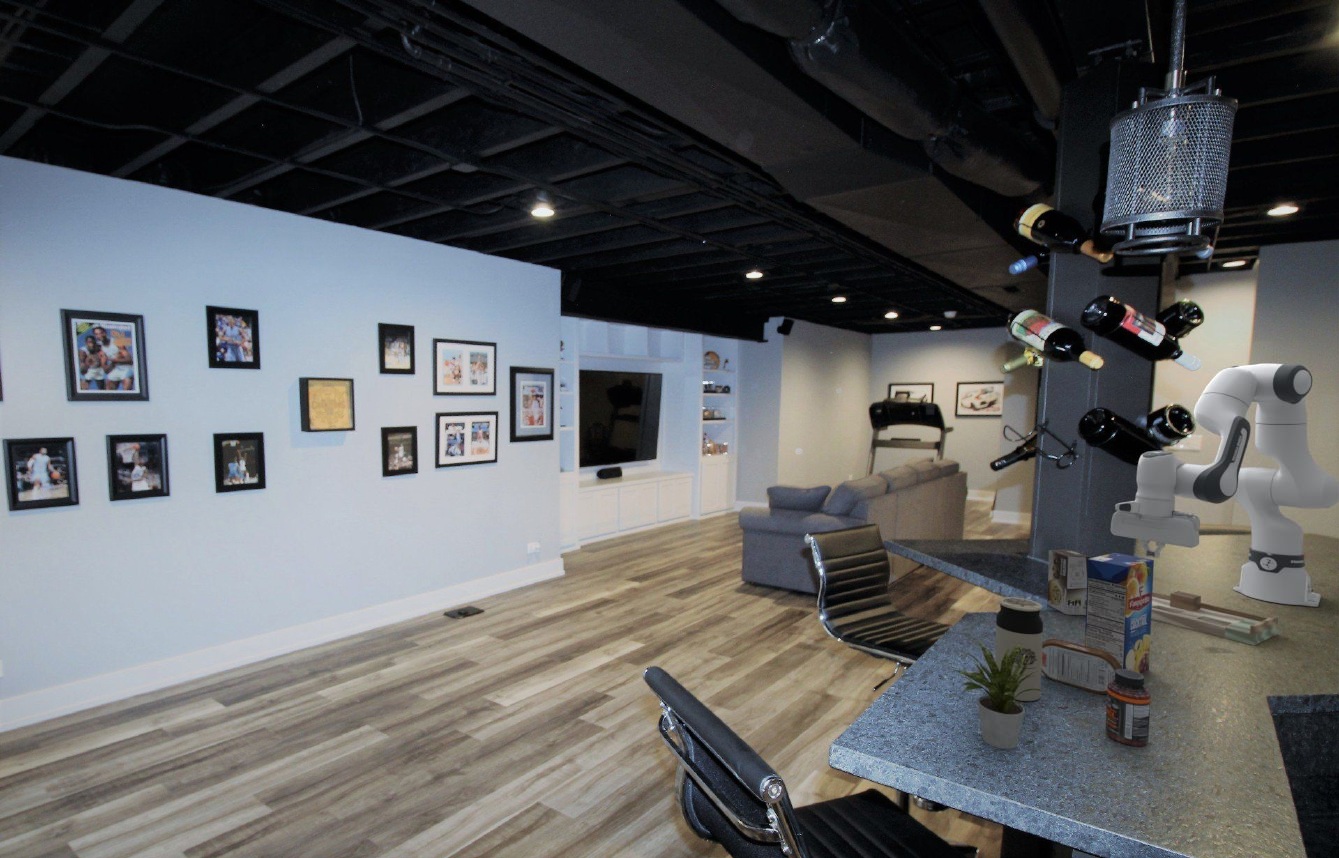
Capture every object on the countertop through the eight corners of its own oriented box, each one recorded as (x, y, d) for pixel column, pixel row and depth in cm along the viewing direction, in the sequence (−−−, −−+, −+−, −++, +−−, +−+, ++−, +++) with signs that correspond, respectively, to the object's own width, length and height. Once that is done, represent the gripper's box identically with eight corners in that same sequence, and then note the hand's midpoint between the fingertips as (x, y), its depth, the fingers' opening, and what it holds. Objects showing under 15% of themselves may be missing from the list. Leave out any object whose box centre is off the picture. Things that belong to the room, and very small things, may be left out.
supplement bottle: (1097, 727, 110) (1100, 664, 109) (1133, 730, 109) (1136, 666, 109) (1118, 746, 104) (1121, 679, 103) (1157, 748, 103) (1160, 681, 103)
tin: (1123, 696, 122) (1125, 653, 122) (1120, 701, 120) (1121, 658, 119) (1037, 672, 133) (1038, 633, 132) (1032, 676, 131) (1034, 636, 130)
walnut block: (1178, 603, 173) (1178, 590, 173) (1200, 608, 169) (1201, 595, 169) (1169, 606, 171) (1170, 593, 171) (1192, 611, 166) (1192, 598, 166)
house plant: (969, 708, 116) (972, 621, 116) (1054, 736, 107) (1058, 642, 106) (940, 736, 106) (943, 642, 105) (1032, 770, 96) (1036, 666, 96)
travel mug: (994, 680, 128) (997, 594, 127) (1038, 689, 124) (1042, 600, 124) (993, 696, 121) (997, 605, 120) (1041, 706, 117) (1045, 611, 117)
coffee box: (1089, 615, 170) (1092, 556, 169) (1065, 614, 170) (1067, 556, 169) (1068, 604, 179) (1071, 549, 178) (1046, 604, 179) (1048, 548, 178)
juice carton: (1110, 657, 141) (1114, 552, 140) (1149, 670, 134) (1154, 559, 133) (1083, 669, 134) (1087, 558, 133) (1122, 682, 128) (1127, 566, 127)
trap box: (1143, 602, 182) (1144, 586, 182) (1277, 634, 157) (1278, 616, 157) (1117, 609, 174) (1118, 594, 174) (1253, 645, 149) (1254, 626, 149)
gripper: (1205, 513, 168) (1202, 564, 169) (1119, 502, 186) (1117, 548, 186) (1195, 514, 165) (1192, 566, 165) (1109, 503, 183) (1106, 550, 183)
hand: (1151, 557), depth 176 cm, fingers closed
